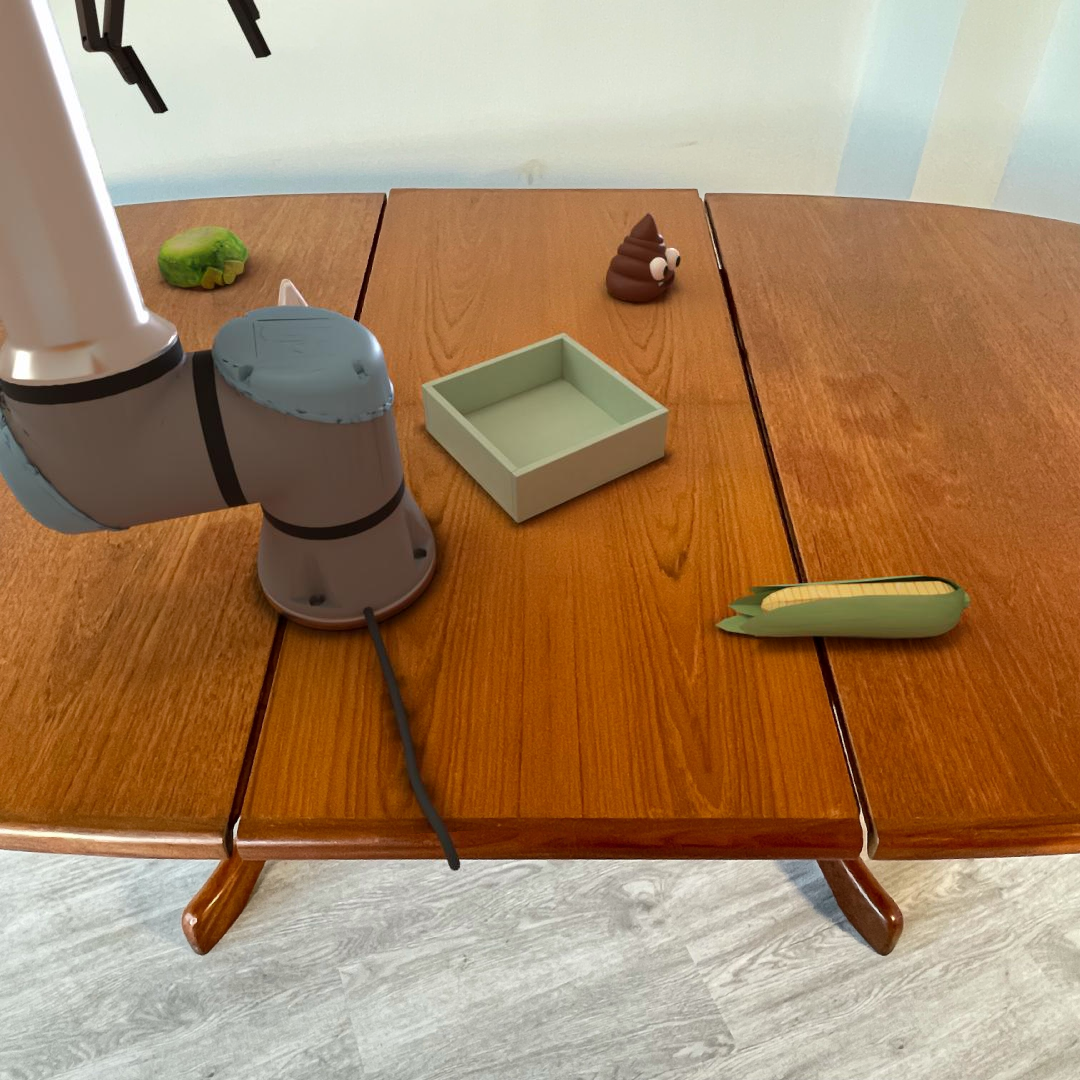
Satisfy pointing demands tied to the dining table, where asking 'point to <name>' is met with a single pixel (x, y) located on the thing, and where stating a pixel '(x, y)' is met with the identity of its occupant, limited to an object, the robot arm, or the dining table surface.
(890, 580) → the edible corn
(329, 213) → the dining table surface
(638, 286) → the poop emoji
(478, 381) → the tub
